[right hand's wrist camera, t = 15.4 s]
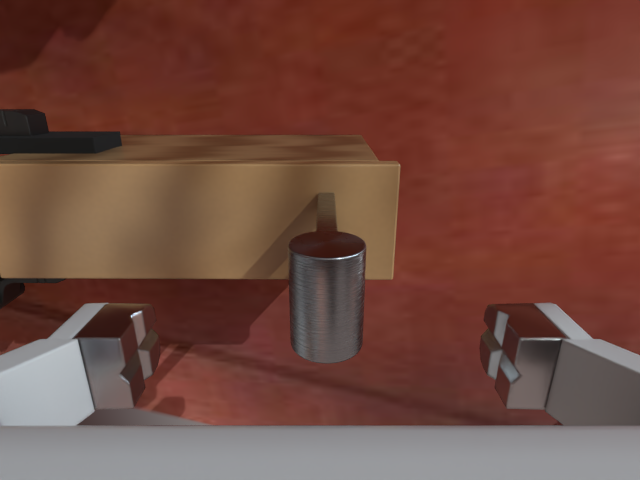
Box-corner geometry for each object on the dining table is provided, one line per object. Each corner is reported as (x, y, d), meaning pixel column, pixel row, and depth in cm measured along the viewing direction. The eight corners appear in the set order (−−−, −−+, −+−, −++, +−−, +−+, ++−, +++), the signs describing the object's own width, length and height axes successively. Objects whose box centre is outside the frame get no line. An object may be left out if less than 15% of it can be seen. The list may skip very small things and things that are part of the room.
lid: (397, 160, 18) (453, 219, 10) (390, 272, 20) (433, 395, 12) (-19, 160, 18) (-278, 217, 10) (13, 271, 20) (-187, 390, 12)
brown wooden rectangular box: (361, 134, 27) (379, 160, 18) (358, 213, 29) (374, 272, 20) (96, 134, 27) (-18, 160, 18) (110, 212, 29) (13, 270, 20)
